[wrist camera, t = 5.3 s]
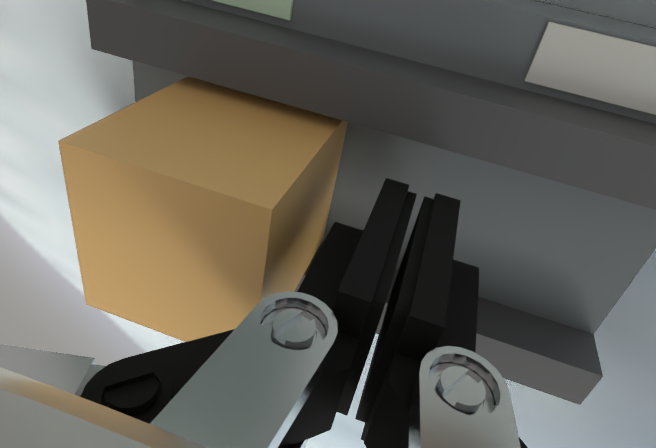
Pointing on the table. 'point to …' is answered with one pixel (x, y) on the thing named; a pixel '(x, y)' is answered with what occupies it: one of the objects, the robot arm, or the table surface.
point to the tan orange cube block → (198, 204)
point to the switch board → (455, 138)
